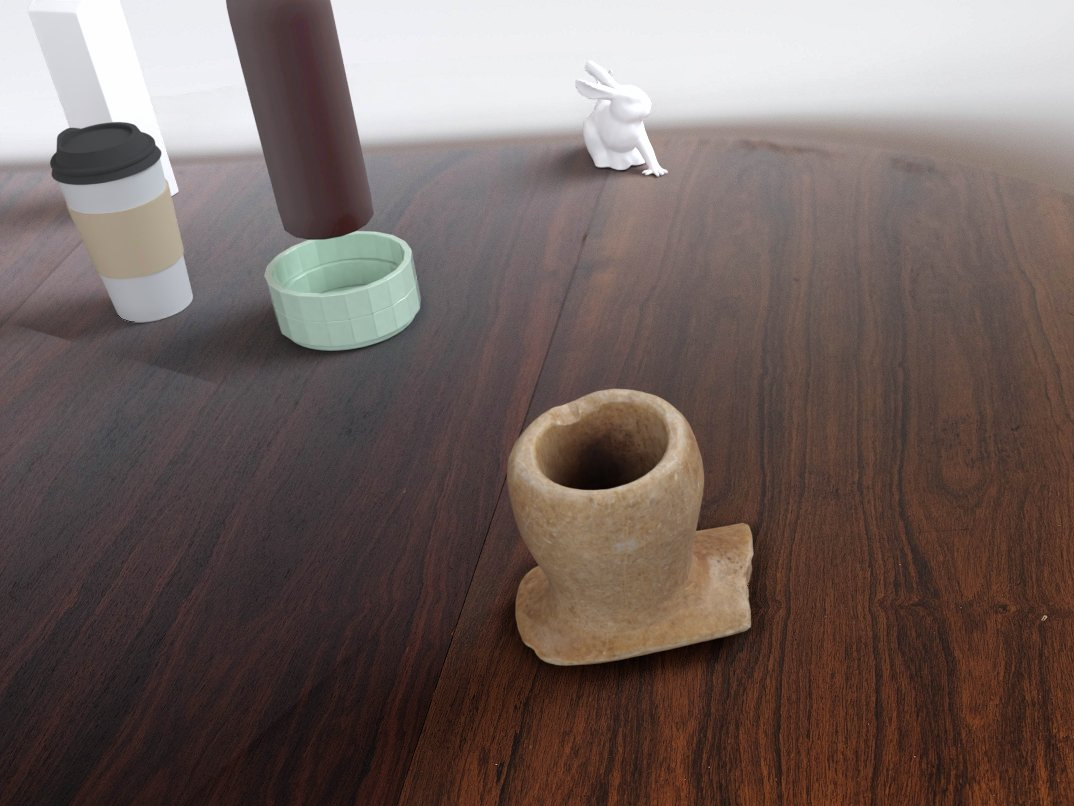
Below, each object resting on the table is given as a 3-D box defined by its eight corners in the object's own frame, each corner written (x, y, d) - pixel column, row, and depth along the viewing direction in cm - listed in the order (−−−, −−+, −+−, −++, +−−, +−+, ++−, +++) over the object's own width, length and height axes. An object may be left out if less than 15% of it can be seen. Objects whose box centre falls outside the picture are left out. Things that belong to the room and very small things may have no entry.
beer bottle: (343, 195, 109) (246, -244, 88) (393, 219, 105) (303, -238, 84) (266, 224, 106) (146, -224, 85) (313, 250, 101) (199, -216, 81)
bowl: (250, 336, 110) (234, 280, 107) (344, 276, 117) (331, 222, 114) (359, 365, 105) (345, 307, 101) (450, 300, 112) (440, 244, 108)
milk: (135, 187, 138) (57, -47, 122) (180, 192, 135) (107, -46, 120) (97, 210, 134) (12, -29, 118) (143, 216, 132) (63, -27, 116)
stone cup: (530, 713, 73) (493, 491, 63) (511, 587, 82) (475, 373, 72) (792, 671, 74) (797, 444, 64) (746, 550, 83) (743, 333, 72)
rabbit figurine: (669, 175, 128) (664, 71, 121) (597, 191, 126) (588, 87, 120) (626, 137, 136) (620, 37, 129) (559, 151, 135) (548, 51, 128)
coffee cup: (223, 283, 118) (171, 112, 108) (174, 330, 112) (115, 154, 102) (137, 279, 120) (78, 111, 110) (85, 325, 114) (17, 152, 104)
